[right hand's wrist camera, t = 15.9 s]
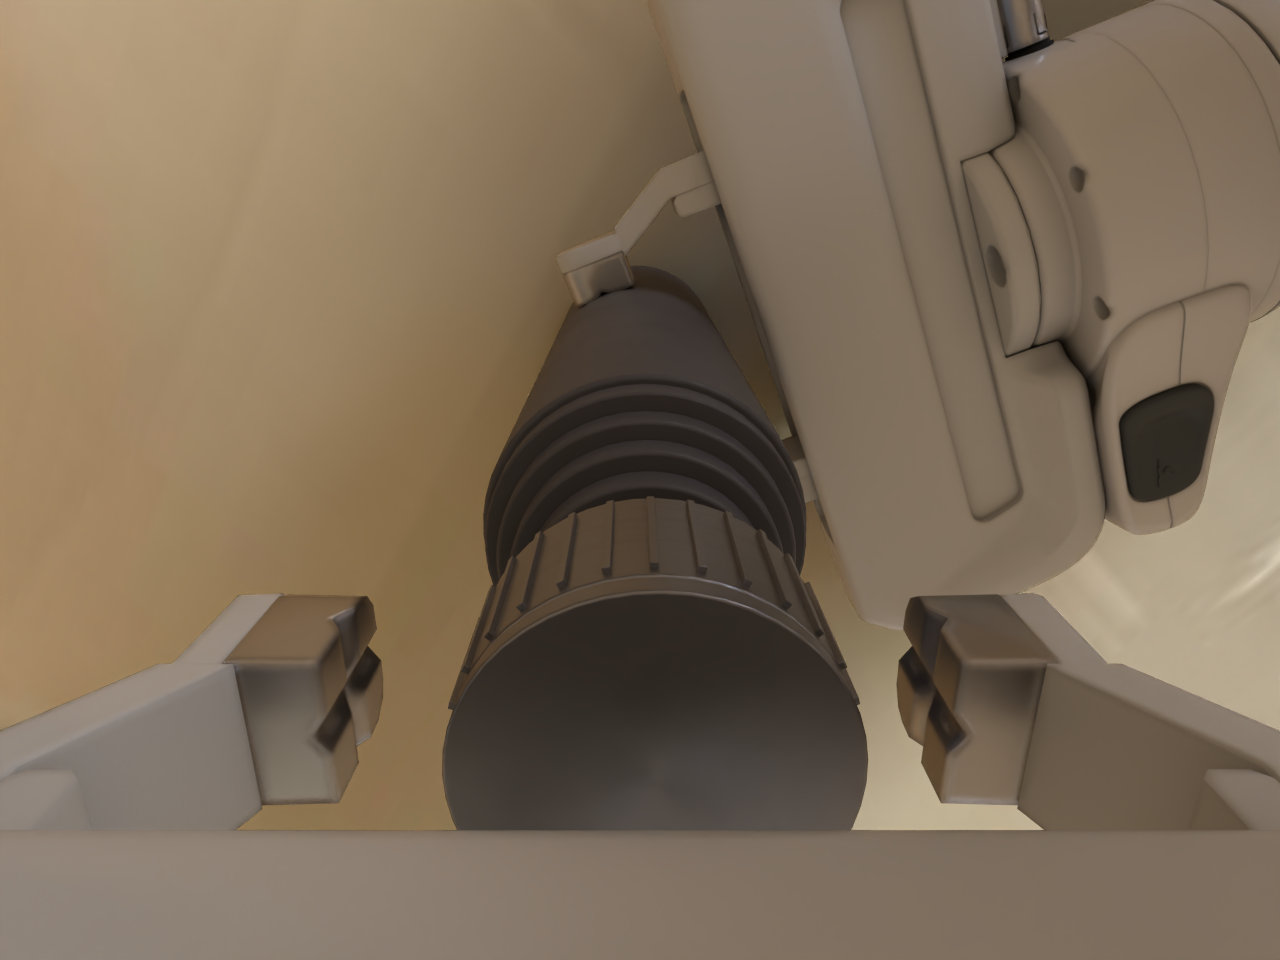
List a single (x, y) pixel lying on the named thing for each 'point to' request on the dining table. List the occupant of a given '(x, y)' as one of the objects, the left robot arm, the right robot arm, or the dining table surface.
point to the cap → (653, 684)
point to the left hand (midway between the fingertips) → (610, 388)
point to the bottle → (641, 425)
